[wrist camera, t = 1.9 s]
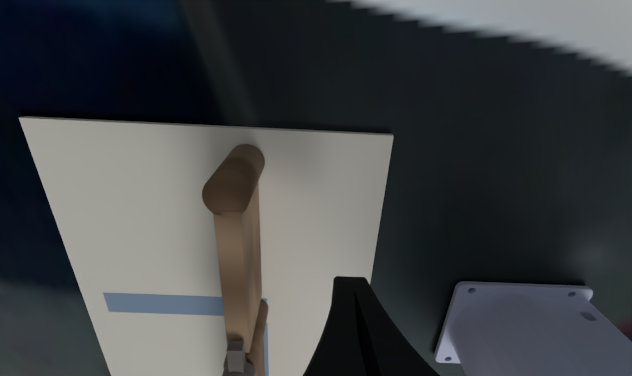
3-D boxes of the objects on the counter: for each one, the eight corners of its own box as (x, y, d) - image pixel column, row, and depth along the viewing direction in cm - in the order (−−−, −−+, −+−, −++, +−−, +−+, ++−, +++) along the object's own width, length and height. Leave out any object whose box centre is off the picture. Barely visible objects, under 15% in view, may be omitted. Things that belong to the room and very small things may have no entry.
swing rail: (268, 318, 22) (255, 395, 17) (240, 318, 22) (220, 393, 17) (264, 144, 17) (243, 185, 12) (227, 142, 17) (191, 183, 12)
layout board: (392, 133, 17) (393, 135, 17) (350, 399, 27) (350, 404, 27) (25, 116, 17) (18, 117, 16) (121, 392, 27) (118, 397, 26)
